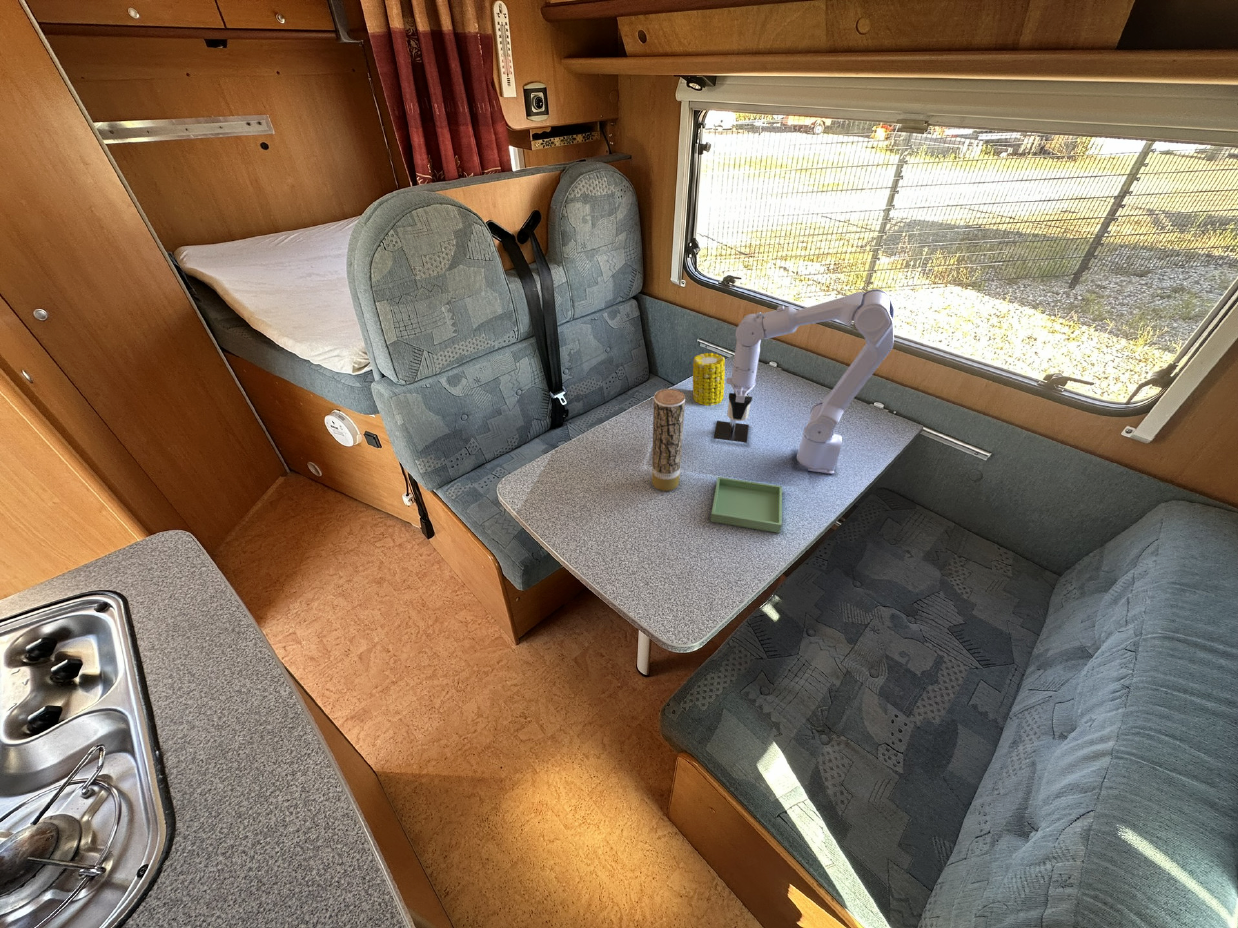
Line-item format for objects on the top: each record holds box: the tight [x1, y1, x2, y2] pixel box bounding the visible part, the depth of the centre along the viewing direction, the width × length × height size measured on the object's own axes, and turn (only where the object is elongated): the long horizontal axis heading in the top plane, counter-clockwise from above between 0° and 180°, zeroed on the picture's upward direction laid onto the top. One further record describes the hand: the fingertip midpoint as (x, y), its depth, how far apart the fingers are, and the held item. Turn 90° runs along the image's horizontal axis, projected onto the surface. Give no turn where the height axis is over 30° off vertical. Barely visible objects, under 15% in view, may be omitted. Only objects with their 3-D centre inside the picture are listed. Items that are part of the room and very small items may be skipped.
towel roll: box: [726, 395, 752, 422], centre depth 127 cm, size 5×5×5 cm
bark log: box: [651, 388, 686, 492], centre depth 115 cm, size 7×7×25 cm
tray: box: [710, 476, 783, 534], centre depth 114 cm, size 15×13×2 cm
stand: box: [713, 418, 750, 444], centre depth 136 cm, size 9×9×8 cm
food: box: [692, 352, 726, 407], centre depth 148 cm, size 15×12×10 cm
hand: (738, 412), depth 128 cm, fingers closed on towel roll, 5 cm apart
